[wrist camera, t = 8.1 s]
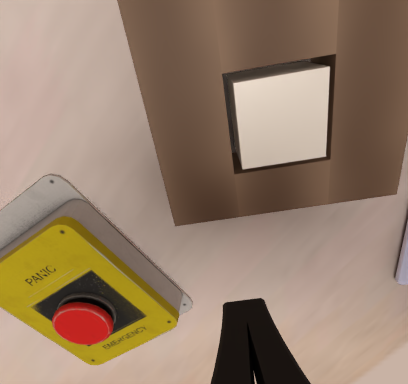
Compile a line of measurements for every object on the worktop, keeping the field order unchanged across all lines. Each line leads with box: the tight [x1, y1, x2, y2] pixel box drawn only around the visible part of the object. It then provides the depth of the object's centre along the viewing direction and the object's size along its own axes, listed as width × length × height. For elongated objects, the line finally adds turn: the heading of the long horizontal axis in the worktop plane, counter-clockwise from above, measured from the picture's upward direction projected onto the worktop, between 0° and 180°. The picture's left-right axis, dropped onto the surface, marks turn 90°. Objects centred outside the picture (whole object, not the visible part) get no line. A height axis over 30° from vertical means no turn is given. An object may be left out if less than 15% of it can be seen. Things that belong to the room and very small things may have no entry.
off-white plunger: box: [227, 61, 330, 169], centre depth 14 cm, size 4×4×3 cm
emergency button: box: [0, 174, 192, 365], centre depth 20 cm, size 9×4×15 cm
